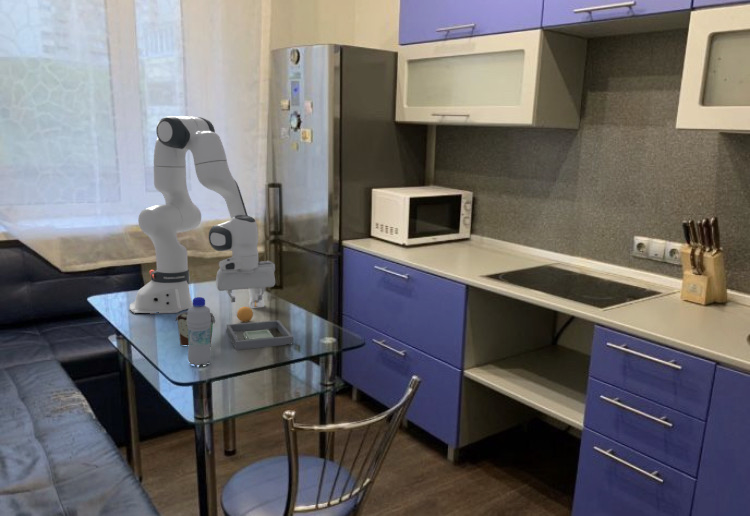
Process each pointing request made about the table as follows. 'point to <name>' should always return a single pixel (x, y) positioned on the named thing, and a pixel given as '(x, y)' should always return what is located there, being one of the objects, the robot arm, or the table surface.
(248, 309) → the ball
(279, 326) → the low wall pen
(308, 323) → the table surface
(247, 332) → the resting pad
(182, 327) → the food container
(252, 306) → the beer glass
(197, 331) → the bottle
